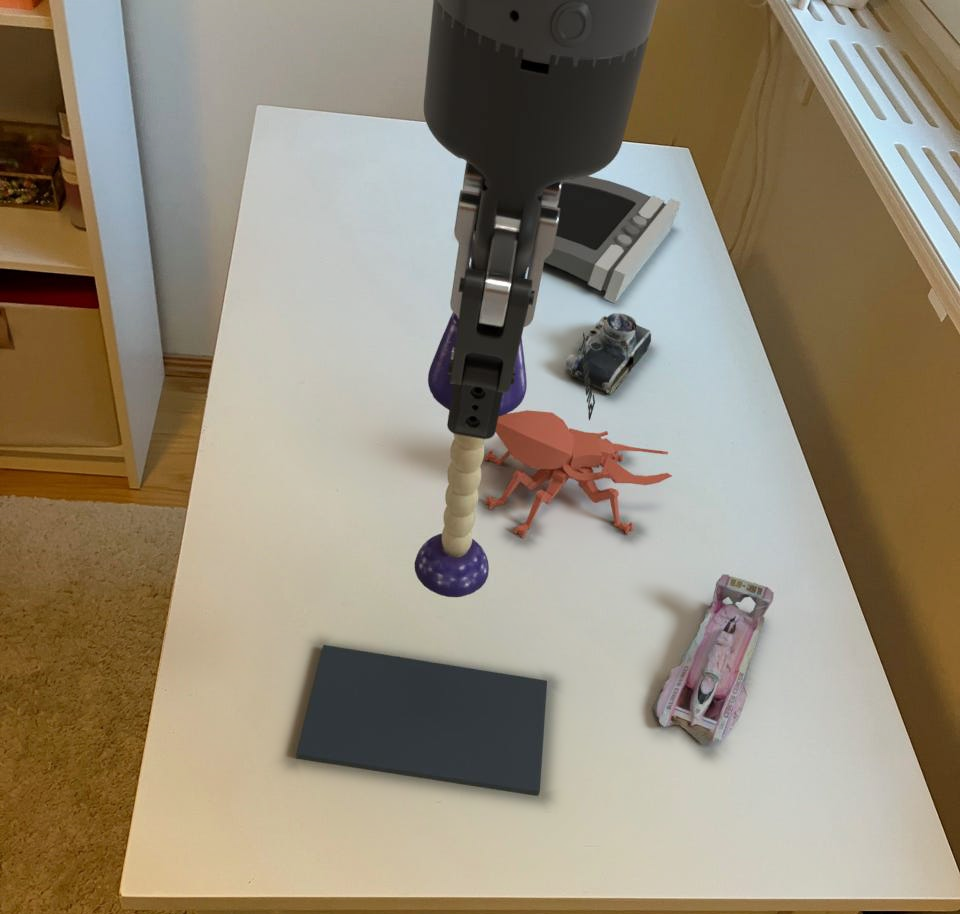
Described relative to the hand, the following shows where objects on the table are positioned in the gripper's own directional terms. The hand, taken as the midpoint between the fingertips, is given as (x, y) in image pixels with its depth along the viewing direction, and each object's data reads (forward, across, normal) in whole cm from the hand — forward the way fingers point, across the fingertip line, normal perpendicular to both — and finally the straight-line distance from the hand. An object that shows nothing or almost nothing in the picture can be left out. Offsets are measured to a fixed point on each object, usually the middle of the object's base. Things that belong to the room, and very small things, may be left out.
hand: (476, 394), depth 47 cm
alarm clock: (+27, -63, +9) cm, 69 cm away
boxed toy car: (+27, -7, +20) cm, 35 cm away
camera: (+27, -42, +12) cm, 52 cm away
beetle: (+27, -24, +10) cm, 37 cm away
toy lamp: (+13, 0, 0) cm, 13 cm away
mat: (+27, +1, 0) cm, 27 cm away
